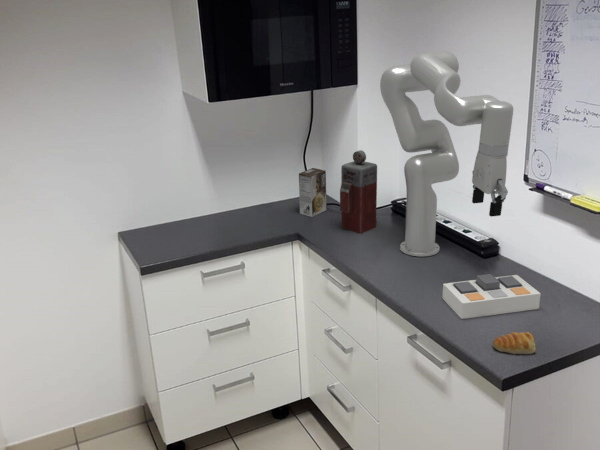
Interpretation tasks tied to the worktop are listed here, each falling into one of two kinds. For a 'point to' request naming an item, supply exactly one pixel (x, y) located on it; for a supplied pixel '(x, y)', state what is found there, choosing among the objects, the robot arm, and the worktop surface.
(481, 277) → the button
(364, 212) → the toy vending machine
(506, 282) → the button
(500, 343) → the pastry
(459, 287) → the button
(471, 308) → the switch box
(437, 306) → the worktop surface
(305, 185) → the coffee box
